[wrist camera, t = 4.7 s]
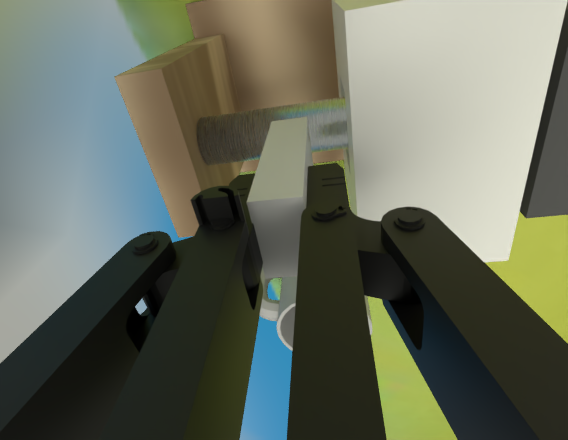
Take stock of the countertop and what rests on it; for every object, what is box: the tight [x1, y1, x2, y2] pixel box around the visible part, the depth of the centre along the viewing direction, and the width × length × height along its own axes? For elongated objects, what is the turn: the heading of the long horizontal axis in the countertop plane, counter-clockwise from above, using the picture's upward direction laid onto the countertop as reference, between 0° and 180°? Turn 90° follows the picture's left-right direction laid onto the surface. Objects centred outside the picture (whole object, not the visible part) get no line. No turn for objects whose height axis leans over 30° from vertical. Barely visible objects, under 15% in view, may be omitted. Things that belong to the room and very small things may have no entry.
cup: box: [260, 266, 372, 351], centre depth 31 cm, size 7×10×9 cm
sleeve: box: [332, 0, 568, 262], centre depth 17 cm, size 6×10×10 cm, turn 9°
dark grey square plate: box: [520, 1, 568, 218], centre depth 16 cm, size 2×8×8 cm, turn 9°
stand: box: [115, 0, 344, 237], centre depth 19 cm, size 30×12×12 cm, turn 99°
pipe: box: [196, 97, 349, 165], centre depth 16 cm, size 28×3×3 cm, turn 99°
